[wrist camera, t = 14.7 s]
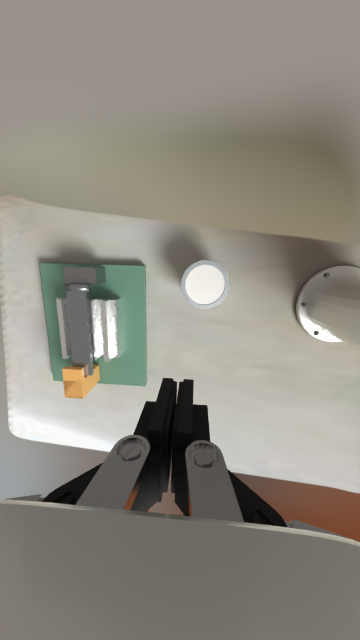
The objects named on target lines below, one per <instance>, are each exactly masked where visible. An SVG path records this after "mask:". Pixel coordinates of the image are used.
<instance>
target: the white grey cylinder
mask: <svg viewBox="0 0 360 640" xmlns="http://www.w3.org/2000/svg"><path fill="white" fill-rule="evenodd" d="M229 285H230V281H229V277H228V274H227V272H226V271H225V270H224V268H223V267H222V266H221V265H220V264H218V263H216V262H214V261H209V260H201V261H198V262H195V263H193V264H192V265H191V266H190V267H188V268H187V269H186V270H185V273H184V275H183V277H182V279H181V290H182V293H183V296H184V298H185V299H186V300H187V302H188V303H189V304H190V305H192V306H194V307H196V308H199V309H210V308H213V307H216V306H218V305H219V304H220V303H221V302H223V301H224V299H225V298H226V296H227V294H228V292H229Z"/></svg>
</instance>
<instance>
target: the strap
mask: <svg viewBox="0 0 360 640" xmlns="http://www.w3.org/2000/svg"><path fill="white" fill-rule="evenodd" d="M63 289H64V291H66V293H67V305H68V317H69V329H70V341H71V353H72V364H73V367H84V374H85V375H88V376H91V375H93V374H94V372H93V356H92V340H91V324H90V308H89V292H90V290H91V286H90V284H70V283H65V284H64V285H63Z"/></svg>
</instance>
